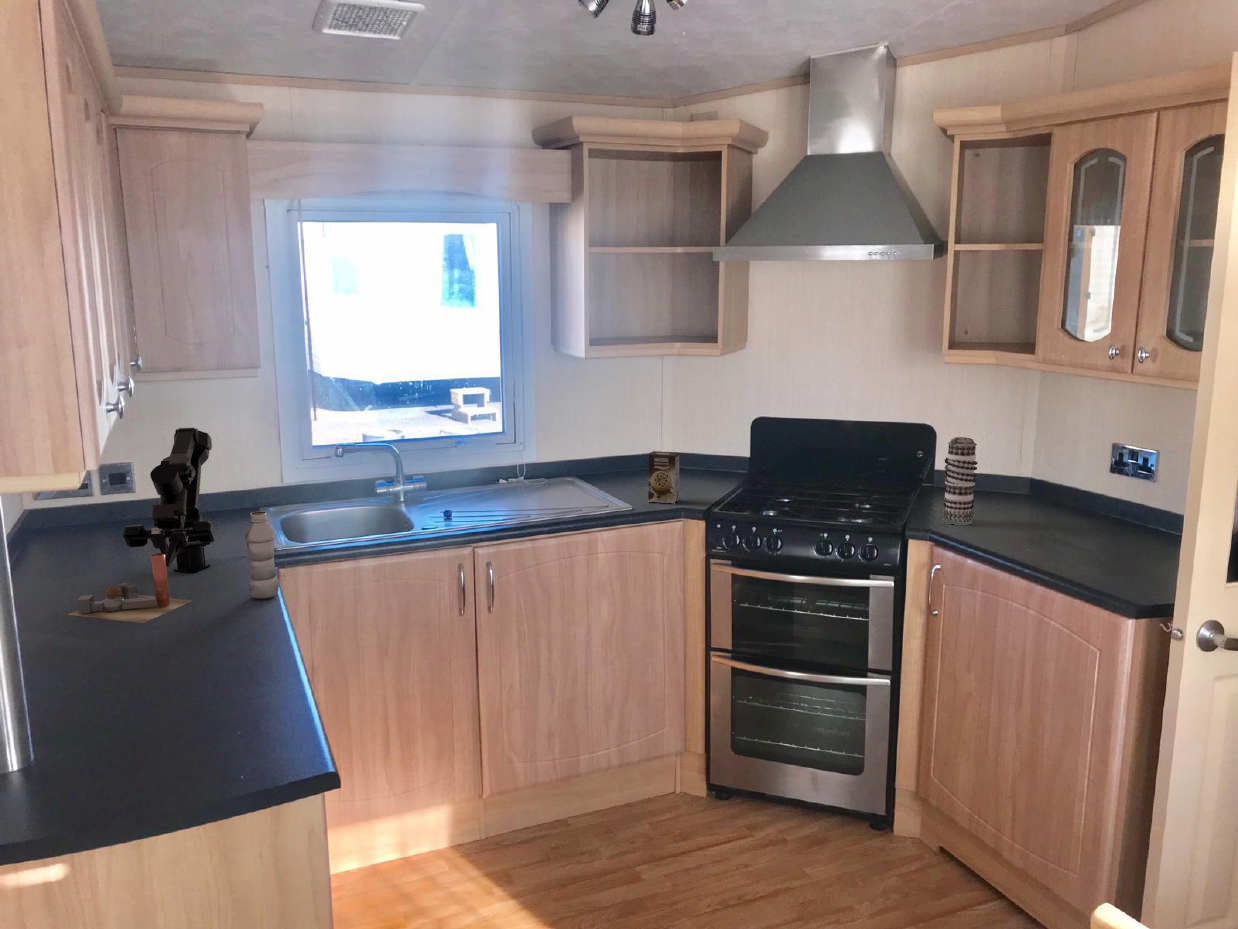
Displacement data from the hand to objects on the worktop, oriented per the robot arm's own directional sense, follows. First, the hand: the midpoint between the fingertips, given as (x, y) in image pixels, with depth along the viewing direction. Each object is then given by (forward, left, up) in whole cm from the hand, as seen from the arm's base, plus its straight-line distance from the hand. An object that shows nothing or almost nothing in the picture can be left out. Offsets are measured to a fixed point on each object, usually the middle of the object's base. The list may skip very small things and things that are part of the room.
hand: (166, 566), depth 223 cm
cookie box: (-126, +84, -9) cm, 151 cm away
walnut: (+6, -10, -7) cm, 14 cm away
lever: (+10, -3, -7) cm, 12 cm away
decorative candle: (-123, +174, -9) cm, 213 cm away
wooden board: (+8, -3, -8) cm, 12 cm away
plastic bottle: (-9, +19, -9) cm, 23 cm away
